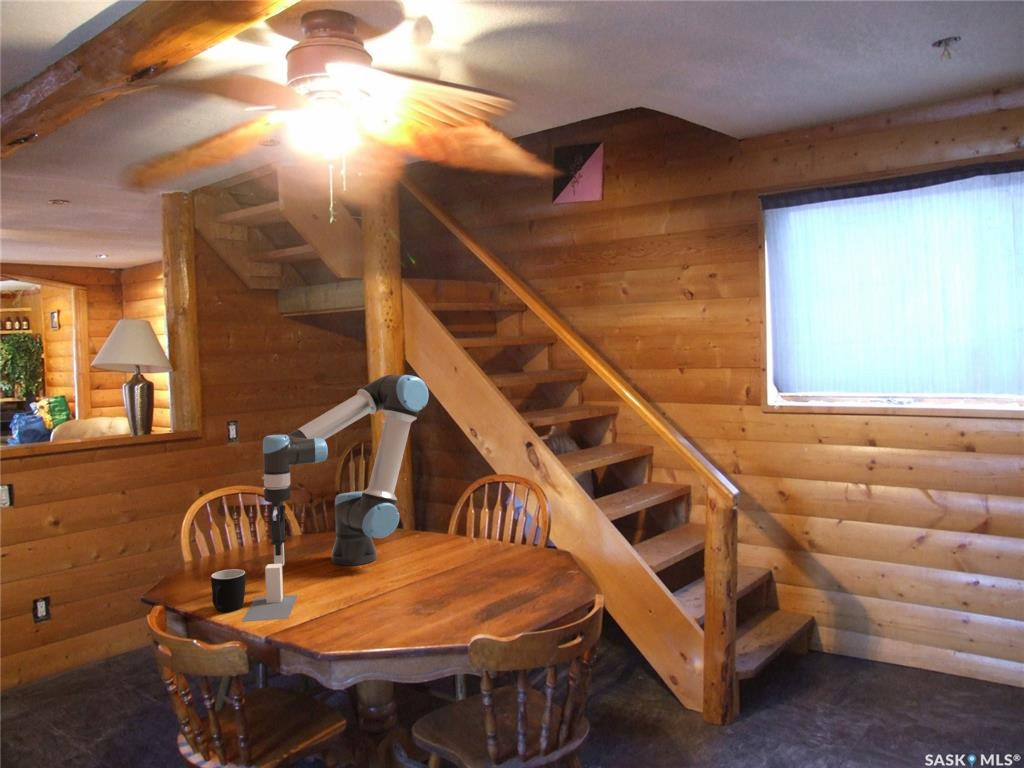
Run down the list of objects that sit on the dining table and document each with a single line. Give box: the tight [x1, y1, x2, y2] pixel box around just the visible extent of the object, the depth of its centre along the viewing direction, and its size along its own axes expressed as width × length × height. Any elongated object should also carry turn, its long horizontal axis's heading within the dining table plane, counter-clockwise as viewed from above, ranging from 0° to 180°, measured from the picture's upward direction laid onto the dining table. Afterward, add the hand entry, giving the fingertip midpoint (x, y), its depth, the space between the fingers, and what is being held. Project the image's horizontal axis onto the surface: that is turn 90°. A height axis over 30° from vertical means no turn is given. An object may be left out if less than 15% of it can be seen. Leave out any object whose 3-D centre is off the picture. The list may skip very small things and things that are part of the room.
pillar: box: [264, 563, 284, 603], centre depth 222 cm, size 4×4×10 cm
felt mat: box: [241, 594, 299, 623], centre depth 216 cm, size 12×20×1 cm, turn 8°
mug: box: [210, 568, 246, 613], centre depth 214 cm, size 12×9×10 cm
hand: (279, 565), depth 233 cm, fingers closed
